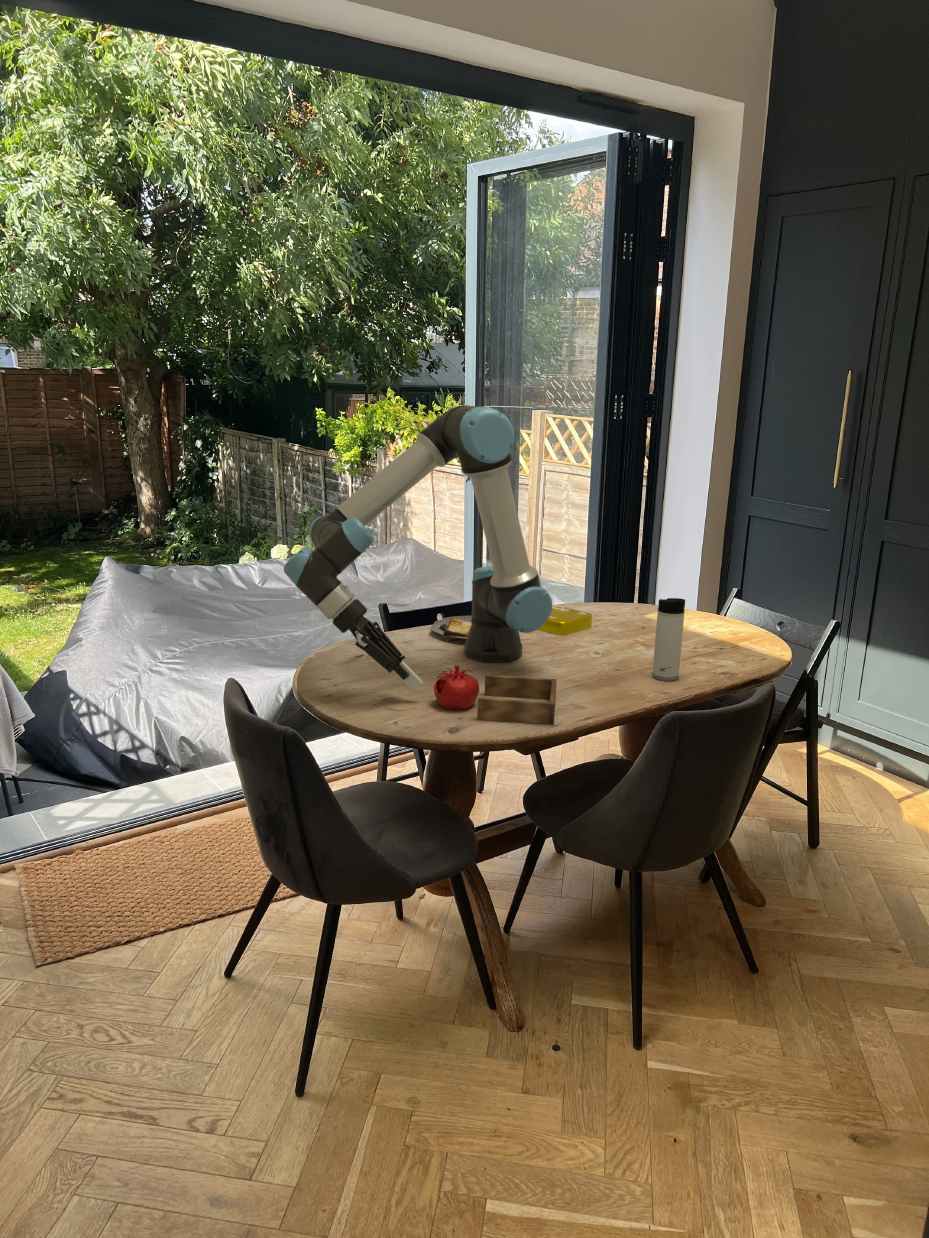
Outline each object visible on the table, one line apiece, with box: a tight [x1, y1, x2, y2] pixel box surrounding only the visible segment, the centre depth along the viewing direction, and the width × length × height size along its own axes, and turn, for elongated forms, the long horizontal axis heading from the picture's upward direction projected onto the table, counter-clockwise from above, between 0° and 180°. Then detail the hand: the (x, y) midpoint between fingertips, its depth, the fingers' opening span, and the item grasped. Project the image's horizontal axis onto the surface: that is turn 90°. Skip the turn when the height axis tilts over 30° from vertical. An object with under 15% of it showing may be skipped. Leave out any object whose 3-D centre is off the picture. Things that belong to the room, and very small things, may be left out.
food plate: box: [430, 615, 472, 640], centre depth 248 cm, size 25×23×4 cm
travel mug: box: [651, 597, 686, 682], centre depth 212 cm, size 6×7×20 cm
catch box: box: [476, 674, 557, 725], centre depth 192 cm, size 16×16×4 cm
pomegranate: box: [433, 664, 480, 711], centre depth 193 cm, size 10×10×9 cm
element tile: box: [537, 604, 593, 637], centre depth 257 cm, size 15×15×5 cm
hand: (418, 686), depth 194 cm, fingers closed
